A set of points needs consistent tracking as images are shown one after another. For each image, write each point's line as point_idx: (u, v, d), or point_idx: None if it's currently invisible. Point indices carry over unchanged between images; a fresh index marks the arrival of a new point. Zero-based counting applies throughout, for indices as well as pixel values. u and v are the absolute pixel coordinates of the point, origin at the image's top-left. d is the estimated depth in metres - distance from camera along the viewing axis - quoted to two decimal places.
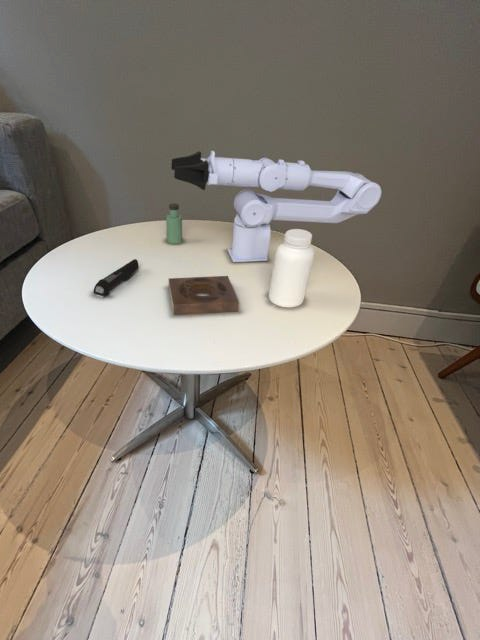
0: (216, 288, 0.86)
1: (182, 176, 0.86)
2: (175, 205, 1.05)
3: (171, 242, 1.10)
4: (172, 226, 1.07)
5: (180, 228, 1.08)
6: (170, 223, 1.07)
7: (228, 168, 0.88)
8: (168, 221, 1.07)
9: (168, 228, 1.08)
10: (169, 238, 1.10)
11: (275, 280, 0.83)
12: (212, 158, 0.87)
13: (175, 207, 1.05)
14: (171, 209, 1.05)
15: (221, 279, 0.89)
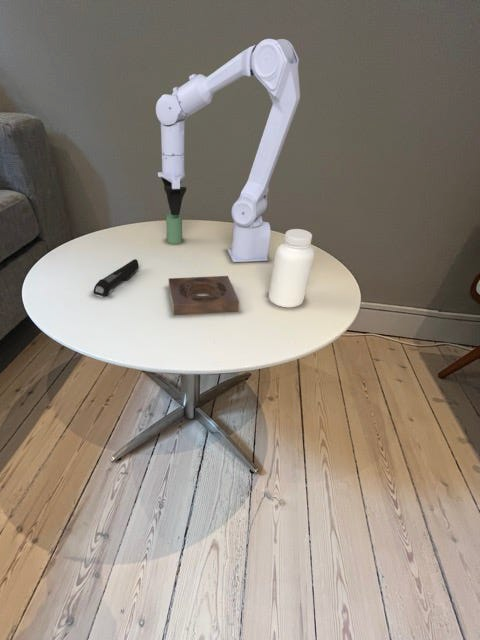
0: (216, 288, 0.86)
1: (177, 208, 1.02)
2: None
3: (171, 242, 1.10)
4: (172, 226, 1.07)
5: (180, 228, 1.08)
6: (170, 223, 1.07)
7: (168, 161, 0.96)
8: (168, 221, 1.07)
9: (168, 228, 1.08)
10: (169, 238, 1.10)
11: (275, 280, 0.83)
12: (162, 176, 0.99)
13: None
14: None
15: (221, 279, 0.89)
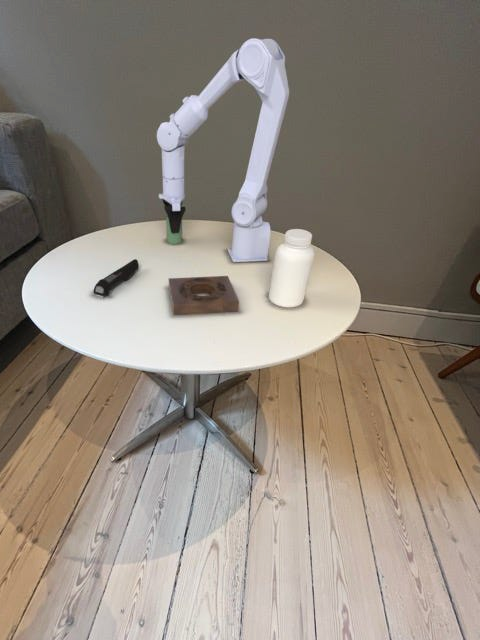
0: (216, 288, 0.86)
1: (177, 226, 1.06)
2: None
3: (171, 242, 1.10)
4: None
5: (180, 228, 1.08)
6: None
7: (169, 184, 0.99)
8: (168, 221, 1.07)
9: (168, 228, 1.08)
10: (169, 238, 1.10)
11: (275, 280, 0.83)
12: (163, 198, 1.03)
13: None
14: None
15: (221, 279, 0.89)
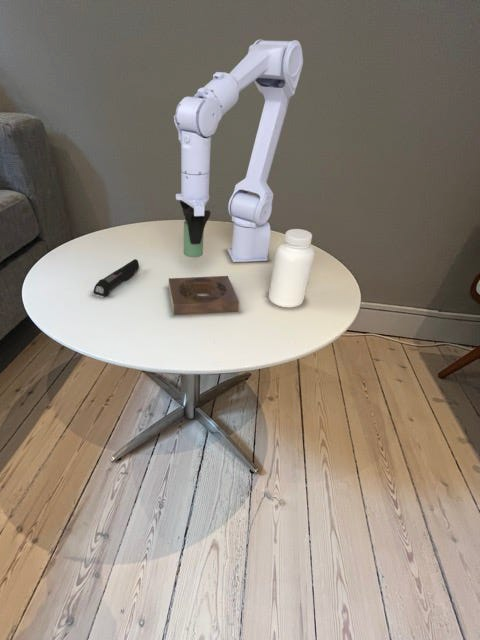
0: (216, 288, 0.86)
1: (198, 235, 0.83)
2: None
3: (189, 255, 0.87)
4: None
5: None
6: None
7: (190, 181, 0.76)
8: (186, 229, 0.84)
9: (186, 237, 0.85)
10: (187, 250, 0.87)
11: (275, 280, 0.83)
12: (182, 199, 0.79)
13: None
14: None
15: (221, 279, 0.89)
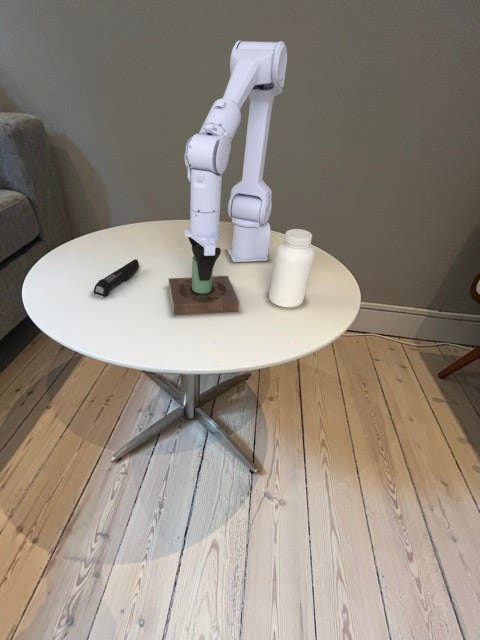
0: (216, 288, 0.86)
1: (207, 272, 0.80)
2: None
3: (198, 291, 0.84)
4: None
5: None
6: None
7: (200, 219, 0.73)
8: (195, 265, 0.80)
9: (195, 274, 0.81)
10: (195, 286, 0.83)
11: (275, 280, 0.83)
12: (191, 236, 0.76)
13: None
14: None
15: (221, 279, 0.89)
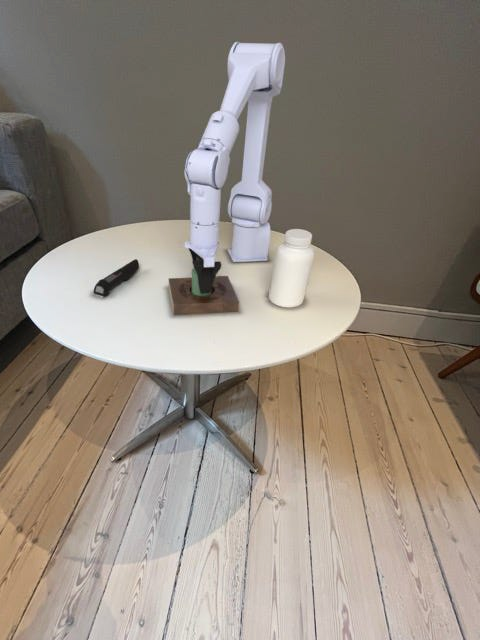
0: (216, 288, 0.86)
1: (208, 285, 0.80)
2: None
3: None
4: None
5: None
6: None
7: (199, 231, 0.74)
8: (195, 277, 0.82)
9: (194, 285, 0.83)
10: None
11: (275, 280, 0.83)
12: (191, 248, 0.78)
13: None
14: None
15: (221, 279, 0.89)
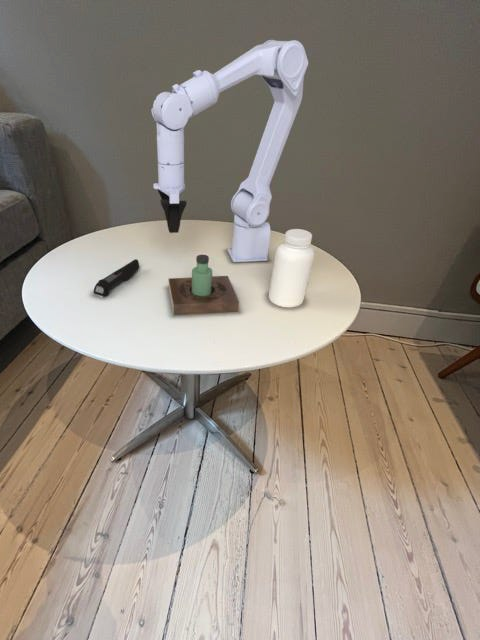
0: (216, 288, 0.86)
1: (176, 225, 0.88)
2: (204, 257, 0.80)
3: None
4: (199, 283, 0.82)
5: (210, 285, 0.84)
6: (198, 280, 0.82)
7: (166, 171, 0.82)
8: (195, 277, 0.82)
9: (194, 285, 0.83)
10: None
11: (275, 280, 0.83)
12: (159, 188, 0.85)
13: (205, 260, 0.80)
14: (199, 263, 0.80)
15: (221, 279, 0.89)
